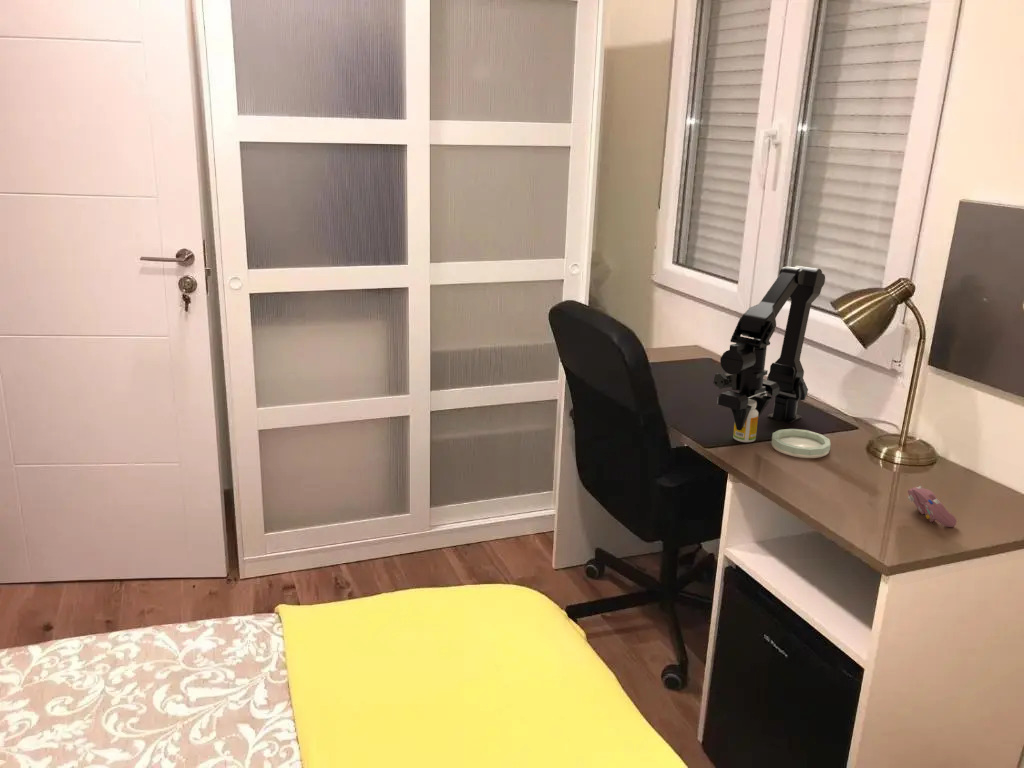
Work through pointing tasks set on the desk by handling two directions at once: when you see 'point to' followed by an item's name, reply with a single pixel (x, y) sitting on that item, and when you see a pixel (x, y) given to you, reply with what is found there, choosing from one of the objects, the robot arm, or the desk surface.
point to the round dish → (800, 443)
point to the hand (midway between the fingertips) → (745, 427)
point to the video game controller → (931, 506)
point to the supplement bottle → (748, 425)
